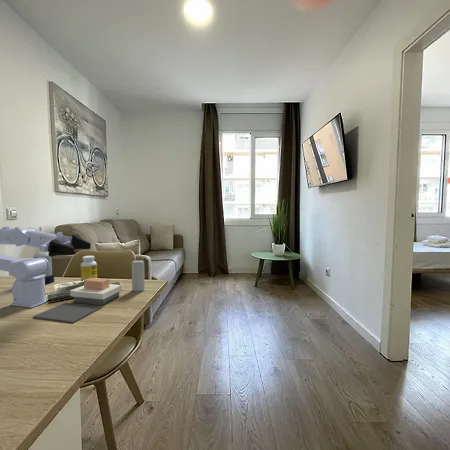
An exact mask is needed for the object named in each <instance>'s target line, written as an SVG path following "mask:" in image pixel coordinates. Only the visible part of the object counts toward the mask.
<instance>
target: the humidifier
mask: <svg viewBox="0 0 450 450" xmlns="http://www.w3.org/2000/svg"><path fill="white" fill-rule="evenodd" d="M38 231H42V226H39V228H38ZM42 232H43V231H42ZM39 257H44V258H46V259H47V260H48V262H49V265H50V268H49V271H48V272H47V273H46V276H45V286H47V285H50V284H52V283H55V275H54V274H53V263H52V257H50V256H49V252H41V251H40V249H39V250H38V251H36V252H35V253H34V254H33V257H32V258H39Z"/></svg>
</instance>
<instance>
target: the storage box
mask: <svg viewBox="0 0 450 450" xmlns="http://www.w3.org/2000/svg"><path fill="white" fill-rule="evenodd" d="M119 297H120V291H119V292H117V293H115V294H113V295H111V296H109V297H107V298H105V299H103V300H102V299H93V298H83V297H73V302H74V303H78V304H79V303H80V304H81V303H82V304H87V305H90V304H91V305H97V306H103V305H105V304H108V303H109V302H111V301H113V300H115V299H118V298H119Z"/></svg>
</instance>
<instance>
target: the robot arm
mask: <svg viewBox="0 0 450 450" xmlns="http://www.w3.org/2000/svg"><path fill="white" fill-rule="evenodd" d="M63 233H64V232H61V231H59V232H56V233H50V232H46V231H39V230H38V229H36V228H34V227H30V226H29V227H23V228H21V226H15V227H12V228H11V227H10V226H2V228H0V245H8V246H9V245H13V246H14V245H15V247H22V246H24V245H25V246H27V247H28V246H29V247H32V248H38V249H39V250H40V251H41V252H49V256H50V257H51V258H52V257H57V256H71V255H75V250H90V249H91V248H92V247H91V245H92V244H91V242H89V241H87V240H85V239H83V238H82V237H81V235H79V234H78V233H75V234H71V236H66V235H64V234H63ZM49 268H50V265H49V262H48V260H47V259H46V258H44V257H39V258H33V257H28V258H27V257H26V258H22V257H16V256H10V255H5V254H4V255H3V254H0V271H3V272H8V276H10V277H14V278H15V281H14V282H13V283H12V292H11V293H12V303H10V306H13V307H22V308H23V307H24V308H35V307H37V306H40V305H42V304H45V303H47V301H46V298H47V297H46V285H45V276H46V273H47V272H48V271H49Z"/></svg>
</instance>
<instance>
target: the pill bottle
mask: <svg viewBox="0 0 450 450" xmlns="http://www.w3.org/2000/svg"><path fill="white" fill-rule="evenodd" d="M97 266H98V263H97V261H95V255H85V256H82V262H81V263H80V279H81V280H80V282H81V281H83V280H86V279H89V278H98V267H97Z"/></svg>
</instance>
